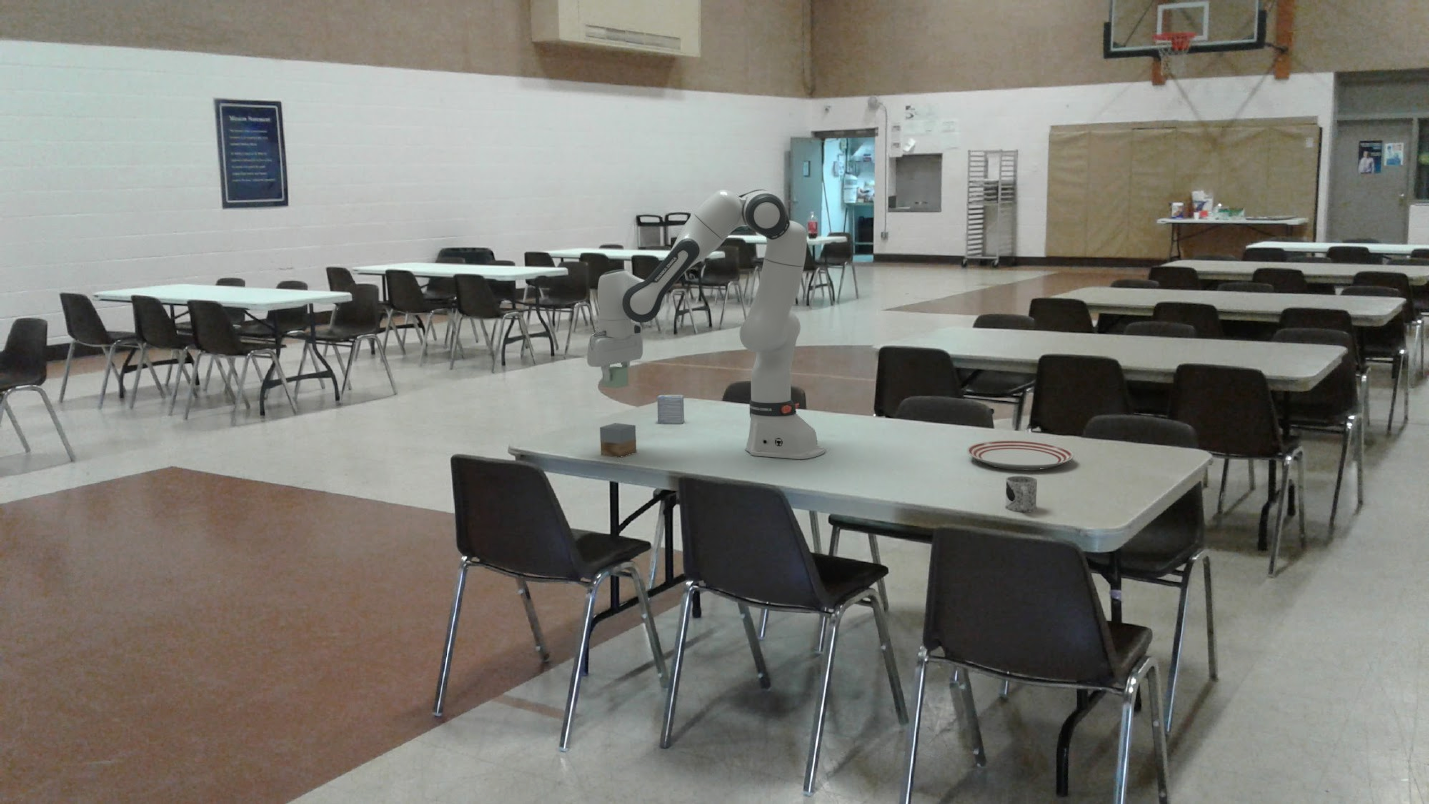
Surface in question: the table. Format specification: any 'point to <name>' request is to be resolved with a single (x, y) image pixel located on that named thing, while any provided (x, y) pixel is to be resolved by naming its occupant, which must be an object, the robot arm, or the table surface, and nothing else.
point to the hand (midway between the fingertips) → (615, 379)
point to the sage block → (617, 377)
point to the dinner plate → (1020, 454)
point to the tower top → (617, 433)
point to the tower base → (618, 448)
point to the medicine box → (670, 409)
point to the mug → (1021, 493)
